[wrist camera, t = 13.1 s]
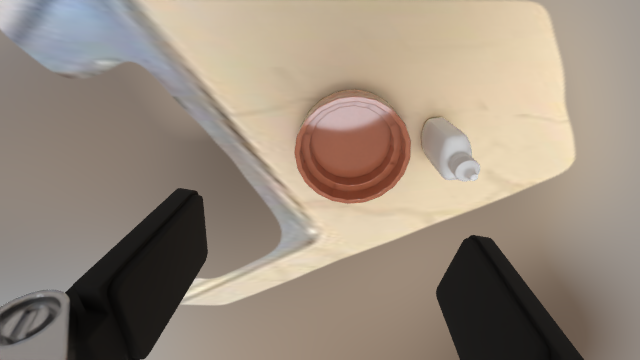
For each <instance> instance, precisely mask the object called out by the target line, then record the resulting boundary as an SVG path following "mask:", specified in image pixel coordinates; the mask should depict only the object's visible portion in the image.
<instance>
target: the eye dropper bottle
mask: <svg viewBox="0 0 640 360" xmlns="http://www.w3.org/2000/svg"><path fill="white" fill-rule="evenodd" d="M421 143H422V148H423V151H424V153H425V155H426V157H427V158H428V159H429V161H430V162H431V163H432V165H433V166H434V167H435V168H436V170H437V171H438V172H439V174H440V175H441V176H442V177H443V178H444V179H446V180H456V179H458V180H460V181H470V180H472V181H475V180H477V179H478V174H479V172H480V165H479V164H478V162H477V161H475V160H474V159H473V158H472V149H471V145H470V142H469V140H468V137H467V136H466V135H465V134H464V133H463V132H462V131H461V130H459V129H458V128H457V127H455V126H454V125H453V124H451V123H450V122H449V121H447V120H446V119H444V118H443V117H438V118H431V119H428V120H427V121H426V123H425V125H424V127H423V131H422V136H421Z"/></svg>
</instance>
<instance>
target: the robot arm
mask: <svg viewBox="0 0 640 360" xmlns="http://www.w3.org/2000/svg"><path fill="white" fill-rule="evenodd" d="M207 253H208V250H207V239H206V229H205V217H204V207H203V198H202V196H199V195H198V192H197V191H194V190H188V189H182V188H178V189H177V190H175V191H174V192H173V193H172V194H171V195H170V196H169V197H168V198H167V199H166V200H165V201H163V202H162V203H161V204H160V205H159V206H158V207H157V208H156V209H155V210H154V211H153V212H151V213H150V214H149V215H148V216H147V217H146V218H145V219H144V220H143V221H142V222H141V223H140V224H138V225H137V226H136V227H135V228H134V229H133V230H132V231H131V232H130V233H129V234H128V235H126V236H125V237H124V238H123V239H122V240H121V241H120V242H119V243H118V244H117V245H116V246H115V247H113V248H112V249H111V250H110V251H109V252H108V253H107V254H106V255H105V256H104V257H103V258H102V259H100V260H99V261H98V262H97V263H96V264H95V265H94V266H93V267H92V268H91V269H89V270H88V271H87V272H86V273H85V274H84V275H83V276H82V277H81V278H80V279H79V280H77V282H75V283H74V284H73V286H72V287H71V288H70V289H69V290H68V291H66V292H65V293H64V292H62V291H58V290H42V291H37V292H33V293H29V294H26V295H24V296H21V297H19V298H16V299H14V300H12V301H10V302H8V303H6V304H5V305H3V306H1V307H0V360H140V359H145V358H146V357H147V356H148V354H149V353H150V352H151V350H152V348H153V347H154V345H155V343H156V342H157V340H158V338H159V337H160V335H161V333H162V332H163V330H164V328H165V326H166V325H167V323H168V322H169V320H170V318H171V317H172V315H173V314H174V312H175V310H176V309H177V307H178V305H179V304H180V302H181V300H182V299H183V297H184V296H185V294H186V292H187V291H188V289H189V287H190V286H191V284H192V282H193V281H194V279H195V277H196V276H197V274H198V272H199V271H200V269H201V267H202V266H203V264H204V263H205V261H206V258H207ZM436 296H437V300H438V302H439V305H440V308H441V310H442V313H443V316H444V318H445V321H446V323H447V326H448V328H449V332H450V334H451V337H452V340H453V342H454V345H455V347H456V350H457V353H458V355H459V358H460V360H584V359H583V358H582V356H581V355H580V354H579V353H578V351H577V350H576V348H575V347H574V346H573V345H572V343H571V342H570V341H569V339H568V338H567V337H566V335H565V334H564V333H563V331H562V330H561V329H560V328H559V326H558V325H557V324H556V322H555V321H554V320H553V318H552V317H551V316H550V314H549V313H548V312H547V311H546V309H545V308H544V307H543V305H542V304H541V303H540V301H539V300H538V299H537V297H536V296H535V295H534V294H533V292H532V291H531V290H530V288H529V287H528V286H527V284H526V283H525V282H524V281H523V279H522V278H521V276H520V275H519V274H518V272H517V271H516V270H515V269H514V267H513V266H512V265H511V263H510V262H509V261H508V259H507V258H506V257H505V255H504V254H503V253H502V252H501V250H500V249H499V248H498V246H497V245H496V244H495V242H494V241H493V240H492V239H491V238H488V237H481V236H475V235H471V236H470V237H469V238H466V239H464V240H463V242H462V244H461V246H460V247H459V249H458V251H457V253H456V255H455V256H454V258H453V260H452V262H451V264H450V265H449V267H448V269H447V271H446V273H445V274H444V276H443V278H442V280H441V282H440V284H439V286H438V287H437V291H436Z"/></svg>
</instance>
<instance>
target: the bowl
mask: <svg viewBox="0 0 640 360" xmlns="http://www.w3.org/2000/svg"><path fill="white" fill-rule="evenodd" d="M410 145H411V141H410V137H409V134H408V131H407V128H406V125H405V123H404V122H403V121H402V120H401V118H400V117H399V116H398V115H397V113H396V112H395V111H394V110H393V108H392V107H391V106H390V105H389V104H388V102H387V101H385V100H384V99H382V98H380V97H379V96H377V95H375V94H373V93H371V92H366V91H361V90H356V89H355V90H354V89H353V90H345V91H338V92H335V93H333V94H331V95H329V96H327V97H325V98H323V99H321V100H320V101H319V102H318V103H317V104H316V105H315V106H314V107H313V108H312V109H311V110H310V111H309V112H308V114H307V116H306V118H305V120H304V122H303V124H302V126H301V128H300V130H299V133H298V135H297V139H296V146H295V158H296V163H297V168H298V170H299V172H300V174H301V175H302V177H303V179H304V181H305V182H306V184H308V185H309V186H310V187H311V188H312V189H313V190H314V191H315V192H316V193H318V194H319V195H321V196H323V197H326V198H328V199H330V200H332V201H336V202H342V203H347V204H348V203H361V202H366V201H369V200H372V199H375V198H377V197H380V196H381V195H383V194H384V193H386V192H387V191H389V190H390V189H391V188H393V187H394V186H395V185H396V183H397V182H398V181H399V180H400V178H401V177H402V176H403V175H404V173H405V170H406V167H407V165H408V162H409V160H410Z"/></svg>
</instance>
